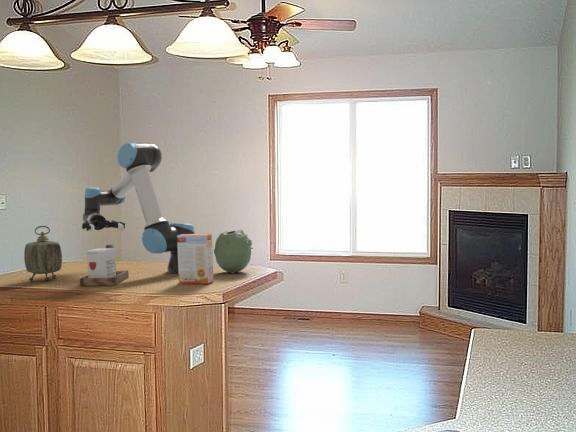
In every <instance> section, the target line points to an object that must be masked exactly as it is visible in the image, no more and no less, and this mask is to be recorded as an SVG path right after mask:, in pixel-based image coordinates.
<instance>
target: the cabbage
mask: <svg viewBox="0 0 576 432" xmlns="http://www.w3.org/2000/svg"><path fill="white" fill-rule="evenodd" d="M248 236H249V235H248V234H245V232H244V230H243V229H238V230H233V231H232V230H231V231H227V230H224V232H221V233H220V234H219V236H218V237H217V238H216V240H215V244H214V249H213V253H214V256H215V261H216V262H217V265H218V266H219V267H220V268H221V269H222V270H223V271H225V272H226V273H232V274H235V273H239V272H241V271H243V270H244V269H246V267H247V266H248V265H249V263H250V260H251V259H252V258H251V256H252V249H254V247H252V245H253V241H252V239H250V238H249V237H248Z"/></svg>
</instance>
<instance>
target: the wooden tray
mask: <svg viewBox="0 0 576 432" xmlns="http://www.w3.org/2000/svg"><path fill="white" fill-rule="evenodd" d="M105 248H114V249H115V250H116V245H115V244H105ZM115 265H117V263H116V259H115ZM129 275H130V274H129V270H116V276H114V277H113V278H88V274H87V275H85V276H82V277H81V278H79V286H80V287H89V286H91V287H93V286H94V287H95V286H99V287H100V286H116V285H118V284H119V283H121V282H123V281H124V280H126V279H128V278H129V277H130V276H129Z"/></svg>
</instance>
